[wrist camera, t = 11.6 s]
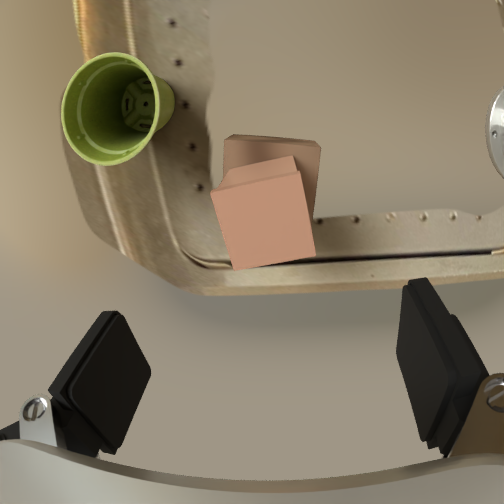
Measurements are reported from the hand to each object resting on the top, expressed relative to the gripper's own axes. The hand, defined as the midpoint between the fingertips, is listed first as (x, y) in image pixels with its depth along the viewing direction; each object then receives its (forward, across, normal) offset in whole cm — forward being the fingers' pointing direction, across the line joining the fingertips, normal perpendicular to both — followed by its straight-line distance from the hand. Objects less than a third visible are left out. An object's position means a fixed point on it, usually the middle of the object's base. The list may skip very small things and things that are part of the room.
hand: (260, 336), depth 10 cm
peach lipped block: (+19, +1, +1) cm, 19 cm away
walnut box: (+24, +1, 0) cm, 24 cm away
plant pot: (+24, +12, -10) cm, 28 cm away
